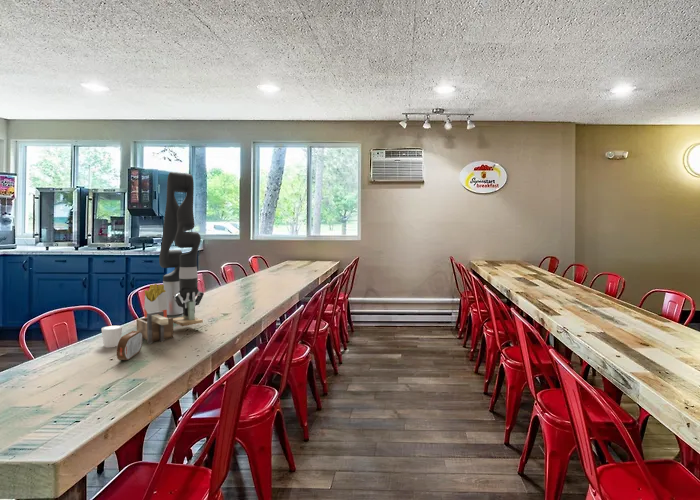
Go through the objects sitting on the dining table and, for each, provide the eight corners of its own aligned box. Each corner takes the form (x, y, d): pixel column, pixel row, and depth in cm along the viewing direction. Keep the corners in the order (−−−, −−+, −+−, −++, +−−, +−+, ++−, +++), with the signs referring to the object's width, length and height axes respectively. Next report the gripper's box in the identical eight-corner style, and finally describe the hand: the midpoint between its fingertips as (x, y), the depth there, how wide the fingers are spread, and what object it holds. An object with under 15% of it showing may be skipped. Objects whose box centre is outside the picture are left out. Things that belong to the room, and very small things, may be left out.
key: (151, 320, 157) (150, 315, 157) (157, 319, 159) (157, 314, 159) (161, 325, 151) (161, 319, 150) (168, 324, 152) (168, 318, 152)
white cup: (126, 343, 156) (126, 326, 155) (111, 348, 149) (110, 330, 149) (113, 341, 158) (113, 324, 157) (97, 346, 151) (96, 328, 151)
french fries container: (158, 325, 184) (157, 286, 183) (143, 321, 190) (143, 284, 188) (167, 322, 188) (166, 285, 187) (152, 319, 194) (152, 283, 192)
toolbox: (133, 336, 166) (132, 307, 165) (158, 331, 173) (158, 304, 173) (149, 344, 155) (148, 313, 154) (175, 338, 163) (175, 309, 162)
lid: (170, 321, 177) (169, 300, 176) (189, 317, 184) (189, 298, 183) (182, 326, 169) (182, 304, 168) (202, 322, 176) (202, 301, 175)
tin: (135, 350, 148) (135, 327, 148) (144, 349, 149) (144, 327, 148) (115, 364, 133) (115, 339, 133) (125, 364, 134) (124, 339, 133)
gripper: (176, 279, 168) (177, 319, 169) (207, 276, 179) (207, 314, 180) (168, 277, 173) (169, 316, 174) (199, 274, 184) (199, 312, 185)
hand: (189, 315), depth 177 cm, fingers closed on lid
